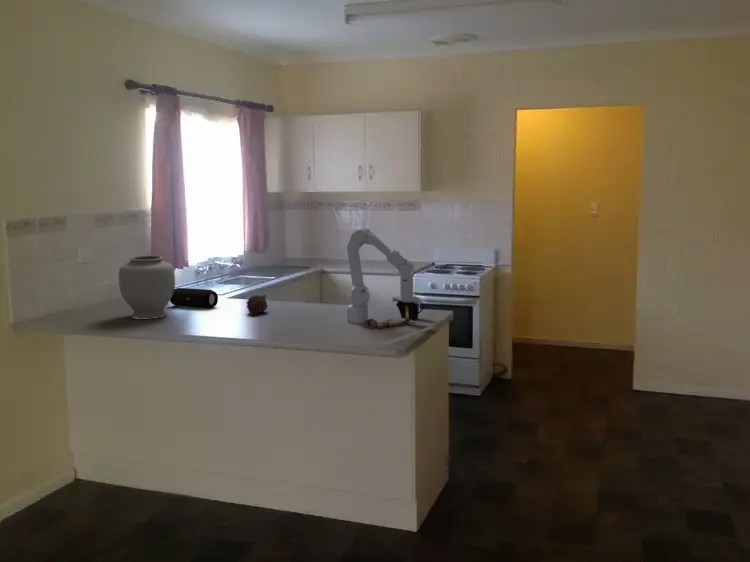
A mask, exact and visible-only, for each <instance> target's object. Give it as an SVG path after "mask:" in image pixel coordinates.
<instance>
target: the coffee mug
mask: <svg viewBox="0 0 750 562" xmlns="http://www.w3.org/2000/svg"><path fill="white" fill-rule="evenodd" d="M413 298H416V299H421V298H420V297H419V296H413ZM409 302H410V301H409ZM407 304H410V303H406V309H405V311H406V310H408V306H407ZM421 305H422V308H421V309H420V304H418V305H417V307H416V309H415V312H414V315H413V319H411V321H417V320H418V318H419V314H420V313H421V312H423V310H424V309H425V304H424V303H423V302H422V304H421ZM403 319H404V320H405V318H403Z"/></svg>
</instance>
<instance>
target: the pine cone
mask: <svg viewBox="0 0 750 562" xmlns="http://www.w3.org/2000/svg"><path fill="white" fill-rule="evenodd" d="M266 297H267V295H266V294H262V295H259V294H258V295H252V296H251V297H249V298H248V300H247V301H246V304H247V305H246V308H247V310H248V312H249V314H251V315H254V316H256V315H258V314H259V313H264V312H265V311H266V309H267V308H268V303H267V300H266Z"/></svg>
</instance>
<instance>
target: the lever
mask: <svg viewBox="0 0 750 562" xmlns="http://www.w3.org/2000/svg"><path fill="white" fill-rule="evenodd" d="M410 321H411V322H412V320H411V319H409V310H406V311H405V319H404V320H402V321H398V322H392V323H389V322H383V321H382V322H383V324H378V325H376V328H385V327H391V326H398V325H404V324H410ZM376 328H375V329H376Z"/></svg>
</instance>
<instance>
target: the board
mask: <svg viewBox="0 0 750 562" xmlns="http://www.w3.org/2000/svg"><path fill="white" fill-rule="evenodd" d="M372 320H375V319H374V318H368V320H365V321H364V323H363V327H364V328H367V329H377V330H385V331H396V330H399V329H402V328H405V327H409V326H410V327H413V326H415V325H414V324H416V323H418V322H417V321H412V320H411V321H410V324H404V325H398V326H391V327H385V328H376V327H374V326H371V325H370V322H371V321H372ZM398 321H403V319H393V318H392V319H391V318H389V319H387V320H383V321H380V322H377V325H378V324H383V322H389V323H392V322H398Z"/></svg>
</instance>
